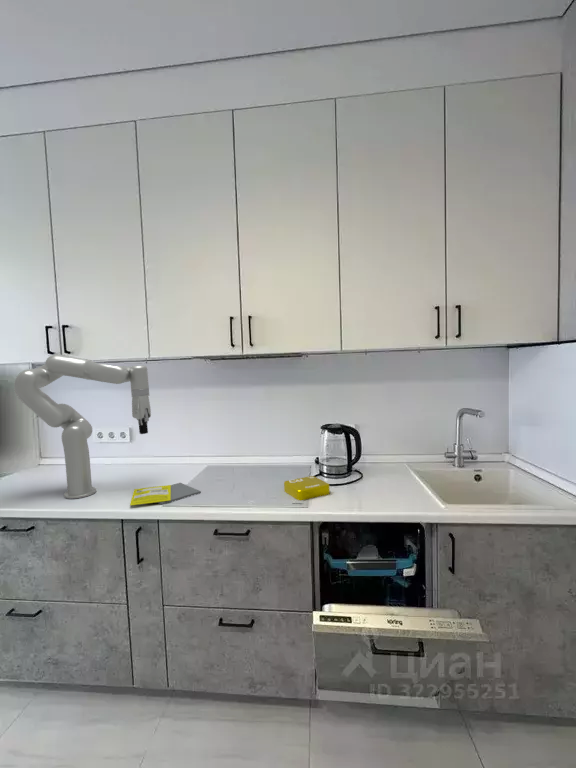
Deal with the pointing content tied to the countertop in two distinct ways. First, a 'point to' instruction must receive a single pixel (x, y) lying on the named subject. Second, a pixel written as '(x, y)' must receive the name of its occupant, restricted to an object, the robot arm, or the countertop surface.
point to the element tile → (306, 488)
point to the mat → (180, 492)
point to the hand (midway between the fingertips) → (143, 433)
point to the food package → (151, 495)
